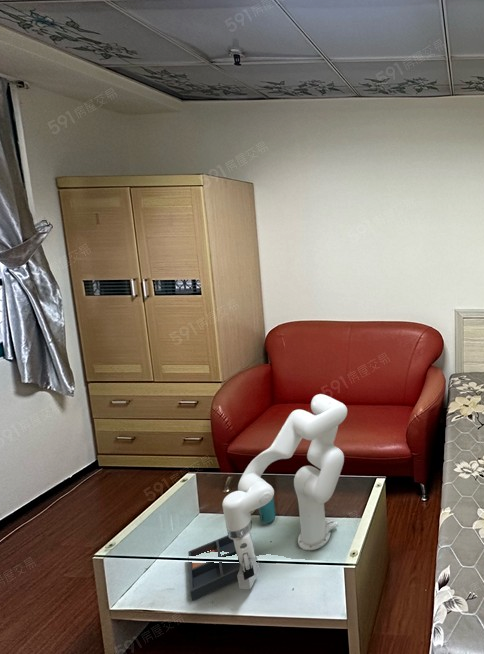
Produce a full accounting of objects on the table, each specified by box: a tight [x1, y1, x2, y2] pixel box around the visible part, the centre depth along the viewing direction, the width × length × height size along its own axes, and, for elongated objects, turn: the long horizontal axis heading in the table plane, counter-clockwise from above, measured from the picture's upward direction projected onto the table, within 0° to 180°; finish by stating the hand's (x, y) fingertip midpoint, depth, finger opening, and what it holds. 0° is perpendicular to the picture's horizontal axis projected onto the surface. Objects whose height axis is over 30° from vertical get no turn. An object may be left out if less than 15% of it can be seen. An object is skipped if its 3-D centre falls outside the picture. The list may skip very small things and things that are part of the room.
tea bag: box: [237, 555, 261, 590], centre depth 144 cm, size 4×7×10 cm, turn 179°
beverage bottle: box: [258, 477, 277, 524], centre depth 173 cm, size 6×7×20 cm
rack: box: [187, 534, 241, 602], centre depth 153 cm, size 19×19×4 cm
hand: (247, 567), depth 143 cm, fingers closed on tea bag, 7 cm apart
